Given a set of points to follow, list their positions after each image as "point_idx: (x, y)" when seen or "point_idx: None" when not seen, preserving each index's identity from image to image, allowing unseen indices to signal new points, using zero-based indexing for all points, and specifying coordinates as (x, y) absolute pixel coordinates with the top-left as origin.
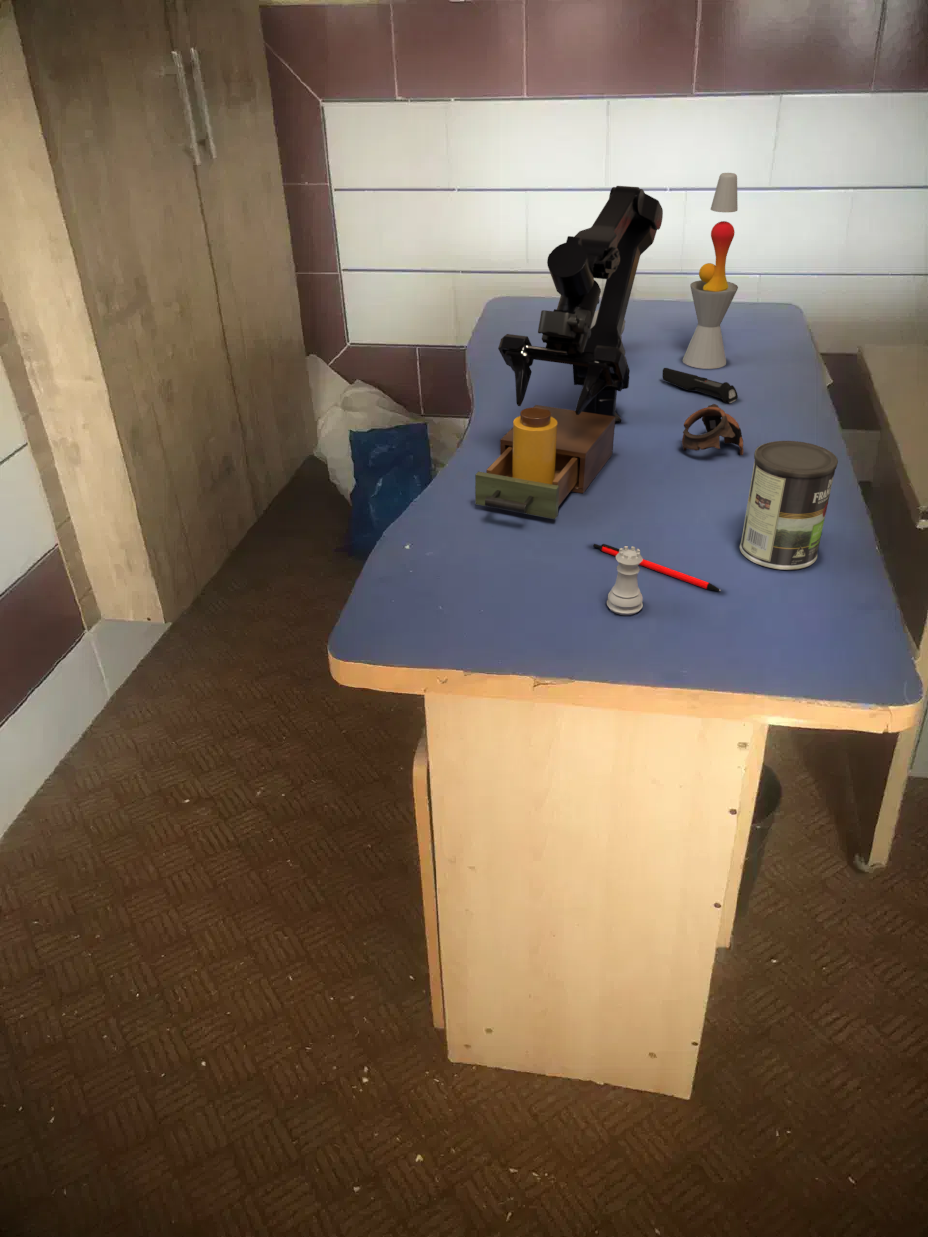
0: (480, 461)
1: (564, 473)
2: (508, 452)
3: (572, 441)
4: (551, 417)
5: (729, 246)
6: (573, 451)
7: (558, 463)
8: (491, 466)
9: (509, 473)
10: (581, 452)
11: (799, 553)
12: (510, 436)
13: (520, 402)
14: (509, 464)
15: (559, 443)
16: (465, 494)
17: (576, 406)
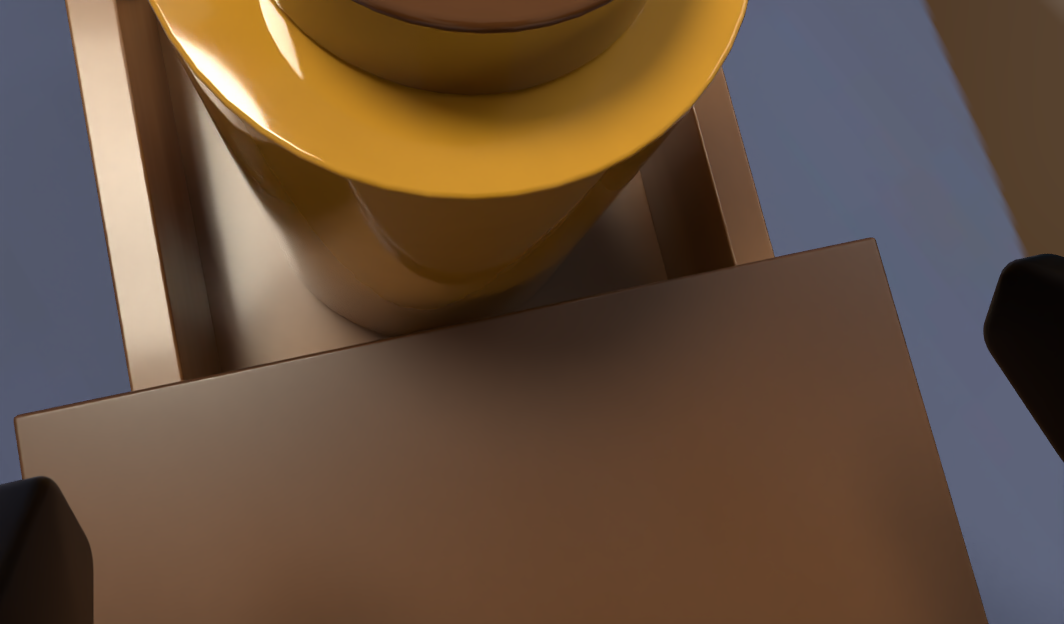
0: (978, 455)
1: (80, 69)
2: (713, 178)
3: (291, 607)
4: (352, 157)
5: None
6: (152, 387)
7: None
8: None
9: (651, 238)
10: (61, 408)
11: None
12: (849, 345)
13: (1020, 328)
14: (680, 233)
15: (380, 477)
16: (757, 25)
17: (17, 533)
